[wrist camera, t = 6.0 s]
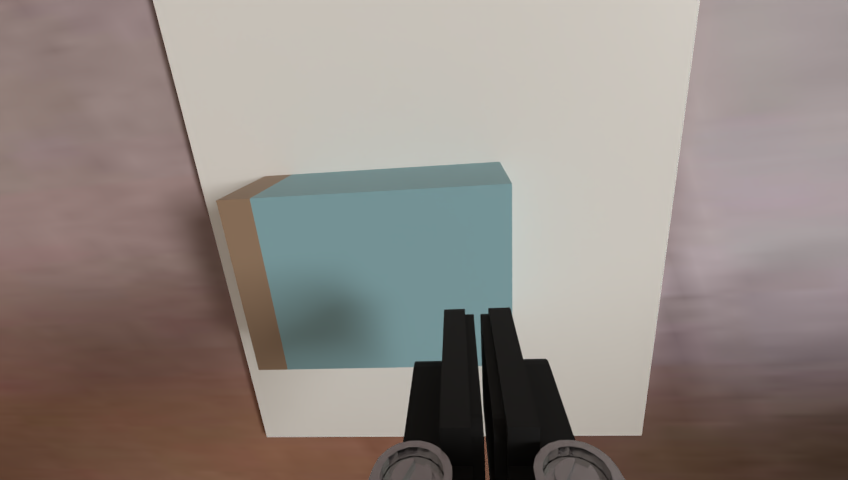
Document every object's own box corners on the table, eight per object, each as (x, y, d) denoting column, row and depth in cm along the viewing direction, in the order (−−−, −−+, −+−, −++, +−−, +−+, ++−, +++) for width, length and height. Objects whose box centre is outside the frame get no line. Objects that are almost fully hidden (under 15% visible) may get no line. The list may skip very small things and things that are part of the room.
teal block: (512, 183, 14) (215, 200, 14) (512, 365, 16) (258, 370, 17) (499, 161, 17) (264, 176, 18) (501, 311, 20) (294, 317, 21)
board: (703, -73, 14) (710, -77, 14) (638, 429, 22) (641, 435, 22) (155, -15, 16) (148, -17, 16) (269, 431, 24) (267, 437, 23)
